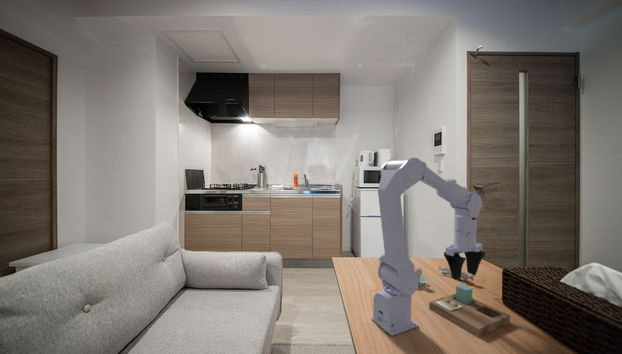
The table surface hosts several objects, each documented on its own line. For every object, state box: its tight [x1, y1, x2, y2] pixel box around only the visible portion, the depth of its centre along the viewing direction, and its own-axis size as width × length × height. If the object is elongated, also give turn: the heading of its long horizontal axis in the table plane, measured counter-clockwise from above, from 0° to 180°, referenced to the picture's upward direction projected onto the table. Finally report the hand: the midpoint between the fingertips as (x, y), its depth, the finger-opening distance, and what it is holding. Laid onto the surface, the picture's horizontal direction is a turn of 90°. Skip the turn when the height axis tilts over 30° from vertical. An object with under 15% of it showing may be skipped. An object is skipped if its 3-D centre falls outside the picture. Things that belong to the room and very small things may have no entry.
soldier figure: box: [438, 264, 475, 281], centre depth 95 cm, size 8×5×12 cm
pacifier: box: [415, 267, 428, 287], centre depth 90 cm, size 7×6×6 cm
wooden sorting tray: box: [428, 293, 511, 338], centre depth 70 cm, size 14×14×2 cm
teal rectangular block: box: [455, 283, 473, 305], centre depth 74 cm, size 3×3×6 cm
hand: (463, 275), depth 74 cm, fingers open, 7 cm apart
